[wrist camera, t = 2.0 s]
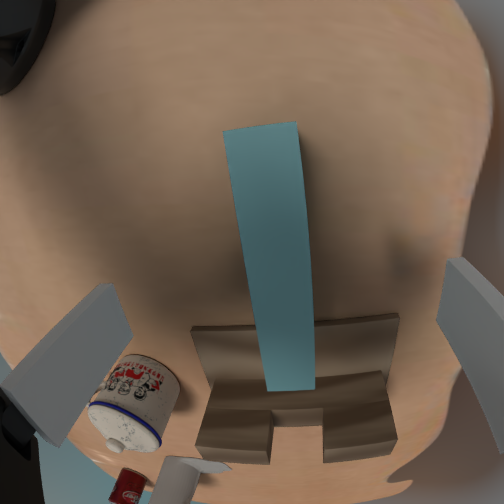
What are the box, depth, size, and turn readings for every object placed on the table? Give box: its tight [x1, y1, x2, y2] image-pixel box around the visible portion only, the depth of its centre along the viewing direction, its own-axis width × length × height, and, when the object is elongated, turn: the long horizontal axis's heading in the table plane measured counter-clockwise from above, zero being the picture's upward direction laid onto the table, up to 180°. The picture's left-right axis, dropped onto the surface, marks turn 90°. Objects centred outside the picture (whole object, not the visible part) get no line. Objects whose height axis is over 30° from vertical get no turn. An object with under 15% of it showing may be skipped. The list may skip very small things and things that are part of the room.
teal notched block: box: [223, 121, 315, 391], centre depth 19 cm, size 16×3×9 cm, turn 8°
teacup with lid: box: [86, 355, 180, 453], centre depth 28 cm, size 12×9×12 cm
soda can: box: [108, 468, 147, 504], centre depth 48 cm, size 7×7×12 cm
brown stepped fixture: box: [190, 313, 400, 465], centre depth 25 cm, size 17×20×10 cm
